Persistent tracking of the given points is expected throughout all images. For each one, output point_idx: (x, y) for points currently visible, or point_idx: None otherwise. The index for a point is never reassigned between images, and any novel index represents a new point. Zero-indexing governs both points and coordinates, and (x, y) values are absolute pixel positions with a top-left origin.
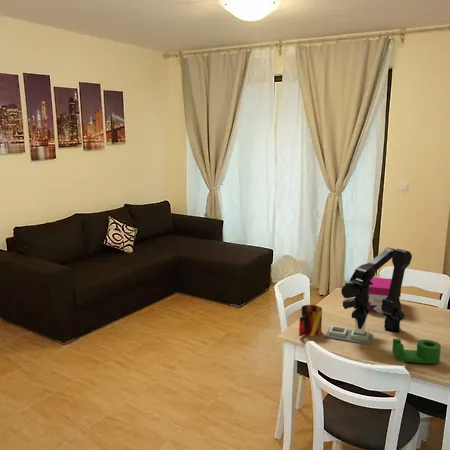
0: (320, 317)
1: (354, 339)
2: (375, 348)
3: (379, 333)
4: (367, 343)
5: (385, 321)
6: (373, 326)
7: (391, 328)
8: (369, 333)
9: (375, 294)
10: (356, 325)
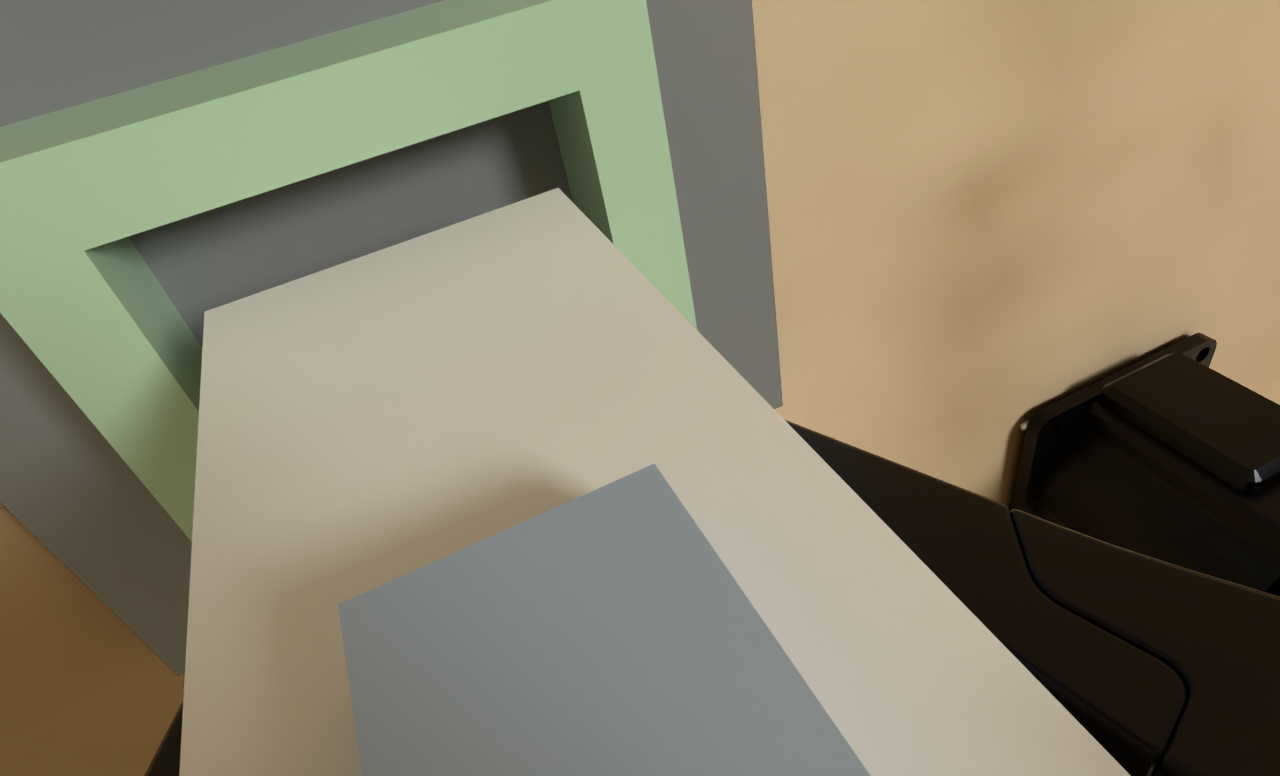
0: None
1: (1, 316)
2: (136, 773)
3: (892, 415)
4: (147, 640)
5: (1216, 470)
6: (1167, 176)
7: (1061, 512)
8: (753, 361)
9: None
10: (227, 582)
